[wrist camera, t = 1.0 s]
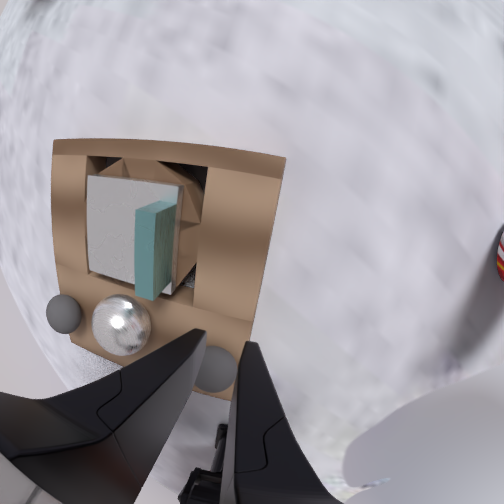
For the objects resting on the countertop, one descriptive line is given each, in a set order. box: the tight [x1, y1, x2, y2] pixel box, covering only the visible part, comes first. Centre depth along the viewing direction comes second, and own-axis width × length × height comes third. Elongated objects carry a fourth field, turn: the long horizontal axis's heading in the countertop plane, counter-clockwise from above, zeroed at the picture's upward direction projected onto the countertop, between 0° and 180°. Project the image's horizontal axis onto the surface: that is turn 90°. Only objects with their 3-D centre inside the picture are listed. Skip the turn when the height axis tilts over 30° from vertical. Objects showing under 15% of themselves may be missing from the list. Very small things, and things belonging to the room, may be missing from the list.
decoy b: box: [46, 294, 82, 334], centre depth 19 cm, size 4×4×4 cm
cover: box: [87, 174, 184, 301], centre depth 15 cm, size 7×7×3 cm
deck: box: [51, 138, 286, 401], centre depth 20 cm, size 20×18×2 cm
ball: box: [91, 294, 151, 356], centre depth 17 cm, size 4×4×4 cm
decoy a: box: [194, 346, 237, 393], centre depth 18 cm, size 4×4×4 cm
